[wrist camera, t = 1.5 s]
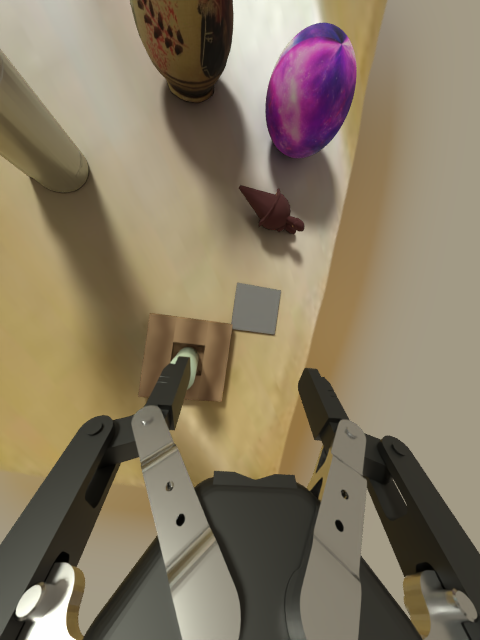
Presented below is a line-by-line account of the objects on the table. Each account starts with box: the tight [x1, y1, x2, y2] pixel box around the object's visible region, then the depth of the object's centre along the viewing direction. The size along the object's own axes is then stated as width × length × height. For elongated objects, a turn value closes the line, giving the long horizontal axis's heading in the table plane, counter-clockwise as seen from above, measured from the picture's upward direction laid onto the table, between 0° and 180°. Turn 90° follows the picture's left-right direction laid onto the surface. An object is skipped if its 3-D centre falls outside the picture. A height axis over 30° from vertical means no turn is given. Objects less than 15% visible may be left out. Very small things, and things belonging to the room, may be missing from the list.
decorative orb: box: [266, 23, 356, 158], centre depth 33 cm, size 15×15×15 cm
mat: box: [231, 283, 281, 334], centre depth 40 cm, size 10×10×1 cm
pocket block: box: [138, 313, 233, 401], centre depth 37 cm, size 16×16×2 cm
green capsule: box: [170, 347, 199, 390], centre depth 31 cm, size 4×4×12 cm
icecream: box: [239, 185, 304, 234], centre depth 36 cm, size 7×7×15 cm
